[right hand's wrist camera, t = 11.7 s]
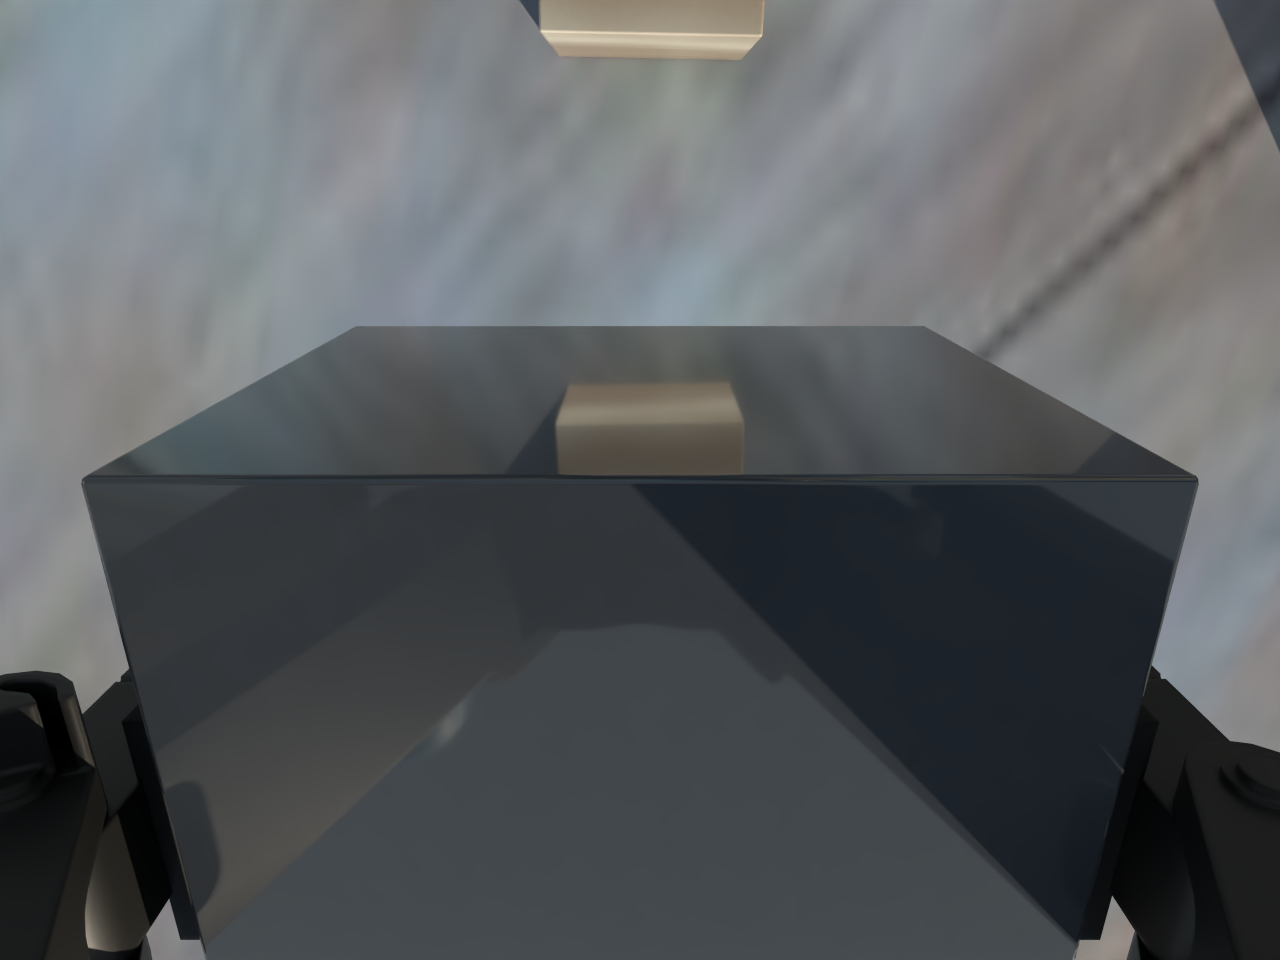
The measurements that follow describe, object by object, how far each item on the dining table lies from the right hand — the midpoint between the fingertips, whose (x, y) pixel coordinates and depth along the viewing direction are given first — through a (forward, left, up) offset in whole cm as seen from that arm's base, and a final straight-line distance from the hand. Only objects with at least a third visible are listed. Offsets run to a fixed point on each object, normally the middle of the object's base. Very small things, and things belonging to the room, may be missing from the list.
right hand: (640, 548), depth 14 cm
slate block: (0, 0, +1) cm, 1 cm away
